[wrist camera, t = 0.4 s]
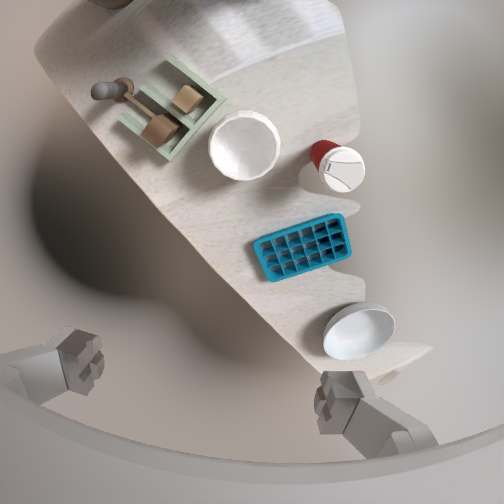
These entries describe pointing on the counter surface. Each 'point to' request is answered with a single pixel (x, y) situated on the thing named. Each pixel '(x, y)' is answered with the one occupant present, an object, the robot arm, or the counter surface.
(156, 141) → the tethered walnut block
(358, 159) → the paper cup
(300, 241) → the ice cube tray
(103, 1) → the pillar candle
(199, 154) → the counter surface
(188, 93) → the oak block
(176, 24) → the counter surface
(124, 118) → the lane rack
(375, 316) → the serving bowl
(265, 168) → the white deep bowl
